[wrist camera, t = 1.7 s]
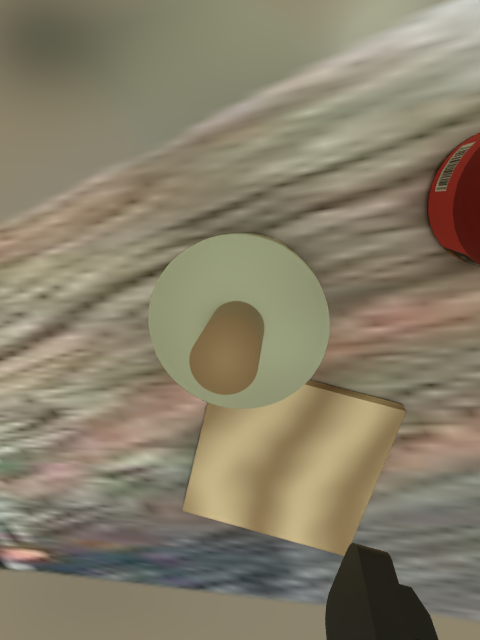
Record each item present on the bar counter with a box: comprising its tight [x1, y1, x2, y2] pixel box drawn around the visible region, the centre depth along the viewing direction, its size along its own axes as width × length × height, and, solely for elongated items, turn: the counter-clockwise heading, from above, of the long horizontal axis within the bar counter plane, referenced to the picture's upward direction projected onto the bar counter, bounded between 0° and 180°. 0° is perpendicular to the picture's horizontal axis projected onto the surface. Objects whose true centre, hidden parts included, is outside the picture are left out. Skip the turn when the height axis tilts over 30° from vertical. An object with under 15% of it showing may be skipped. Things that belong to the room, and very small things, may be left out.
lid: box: [148, 233, 330, 409], centre depth 20 cm, size 10×10×6 cm
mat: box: [182, 380, 406, 556], centre depth 32 cm, size 14×14×1 cm
